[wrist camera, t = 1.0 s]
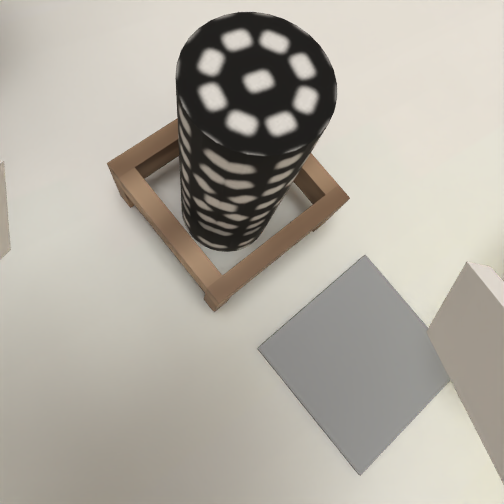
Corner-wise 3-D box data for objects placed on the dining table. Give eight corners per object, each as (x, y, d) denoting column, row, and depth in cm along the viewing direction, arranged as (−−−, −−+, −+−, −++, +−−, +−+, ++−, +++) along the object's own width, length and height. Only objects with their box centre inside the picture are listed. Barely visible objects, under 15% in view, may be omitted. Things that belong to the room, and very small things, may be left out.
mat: (257, 348, 38) (257, 348, 37) (363, 255, 41) (365, 254, 41) (358, 474, 37) (360, 475, 36) (459, 367, 40) (462, 367, 40)
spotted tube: (245, 158, 42) (292, -6, 23) (281, 231, 41) (364, 123, 22) (167, 188, 40) (148, 37, 21) (204, 265, 39) (219, 180, 20)
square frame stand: (120, 195, 39) (106, 163, 33) (235, 119, 43) (244, 75, 36) (214, 312, 38) (219, 303, 31) (324, 223, 42) (350, 198, 35)
